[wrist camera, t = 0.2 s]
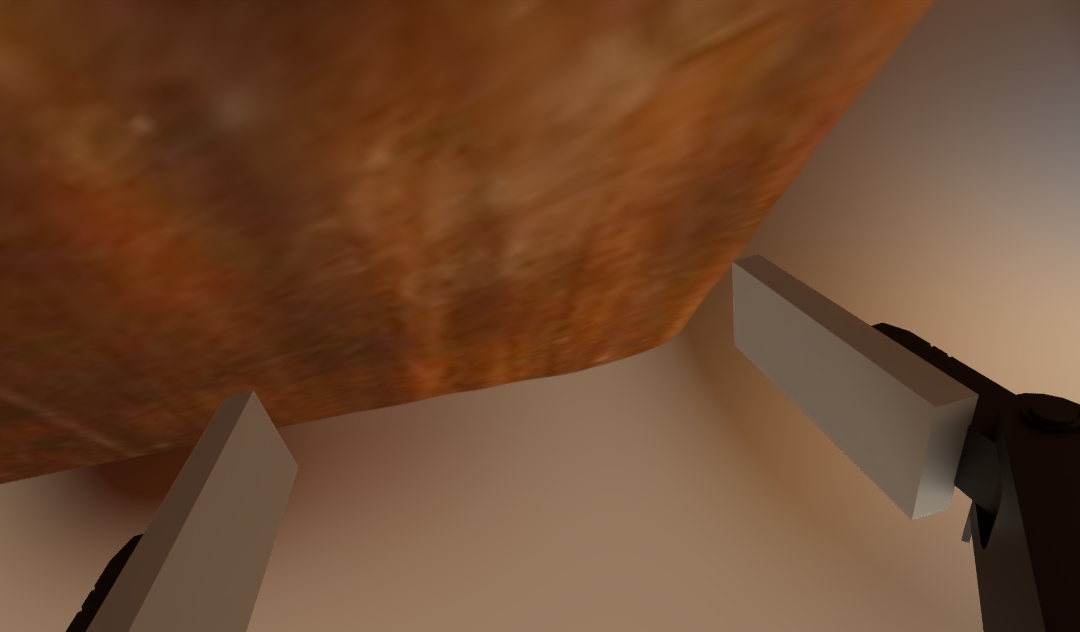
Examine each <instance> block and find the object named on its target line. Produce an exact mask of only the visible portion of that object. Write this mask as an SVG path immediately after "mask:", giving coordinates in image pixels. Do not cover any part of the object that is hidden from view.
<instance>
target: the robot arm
mask: <svg viewBox="0 0 1080 632" xmlns="http://www.w3.org/2000/svg"><path fill="white" fill-rule="evenodd" d="M732 272H733V311H734V345H735V346H736V347H737V348H738V349H739V350H740V351H741V352H742V353H743V354H744V355H745V356H746V357H747V358H748V359H749V360H750V361H751V362H753V364H755V366H756V367H757V368H758V369H759V370H760V371H761V372H762V373H764V374H765V375H766V376H767V377H768V378H769V379H770V380H771V381H772V382H773V383H774V384H775V385H776V386H777V387H778V388H779V389H780V390H781V391H782V392H783V393H784V394H785V395H786V396H787V397H788V398H789V399H790V400H791V401H792V402H793V403H794V404H795V405H796V406H797V407H798V408H799V409H800V410H801V411H802V412H803V413H804V414H805V415H806V416H807V417H808V418H809V419H810V420H811V421H812V422H813V423H814V424H815V425H816V426H817V427H818V428H819V429H820V430H821V431H822V432H823V433H824V434H825V435H826V436H827V437H828V438H829V439H830V440H831V441H832V442H833V443H834V444H835V445H836V446H837V447H838V448H840V450H841V451H842V452H844V454H845V455H846V456H847V457H848V458H850V460H851V461H853V463H855V464H856V465H857V466H858V467H859V468H860V469H861V470H862V471H863V472H864V473H865V474H866V475H867V476H868V477H869V478H870V479H871V480H872V481H873V482H874V483H875V484H876V485H877V486H878V487H879V488H880V489H881V490H882V491H883V492H884V493H885V494H886V495H887V496H888V497H889V498H890V499H891V500H892V501H893V502H894V503H895V504H896V505H897V506H898V507H899V508H900V509H901V510H902V511H903V512H904V513H905V514H906V515H907V516H908V517H909V518H910V519H911V520H914V519H917V518H921V517H924V516H927V515H930V514H934V513H937V512H940V511H943V510H946V509H949V507H950V503H951V499H952V495H953V491H954V487H955V486H956V487H958V488H959V489H960V490H961V491H962V492H963V493H965V494H966V495H967V496H968V497H969V498H971V499H972V500H973V501H972V504H971V508H970V511H969V514H968V518H967V522H966V525H965V528H964V532H963V536H962V541H965V542H969V541H970V538H971V534H972V539H973V547H974V556H975V564H976V572H977V580H978V589H979V597H980V605H981V613H982V621H983V630H984V632H1080V404H1077V403H1075V402H1072V401H1070V400H1067V399H1064V398H1060V397H1055V396H1051V395H1046V394H1034V393H1023V394H1018V395H1015V394H1013V393H1012V392H1010V391H1009V390H1007V389H1005V388H1003V387H1002V386H1000V385H999V384H997V383H995V382H993V381H992V380H990V379H988V378H987V377H985V376H983V375H982V374H980V373H978V372H977V371H975V370H973V369H972V368H970V367H968V366H967V365H965V364H963V363H962V362H960V361H958V360H957V359H955V358H953V357H948V355H947V353H945V352H943V351H942V350H940V349H938V348H937V347H935V346H933V347H931V345H930V343H928V342H927V341H925V340H923V339H921V338H920V337H918V336H917V335H915V334H913V333H911V332H910V331H907V330H904V329H901V328H898V327H895V326H892V325H889V324H885V323H880V324H876V325H873V326H870V325H869V324H867V323H865V322H864V321H862V320H861V319H859V318H858V317H856V316H854V315H853V314H851V313H850V312H848V311H847V310H845V309H843V308H842V307H840V306H839V305H837V304H836V303H834V302H833V301H831V300H829V299H828V298H826V297H825V296H823V295H822V294H820V293H818V292H817V291H815V290H814V289H812V288H810V287H809V286H807V285H806V284H804V283H803V282H801V281H800V280H798V279H796V278H795V277H793V276H792V275H790V274H789V273H787V272H786V271H784V270H782V269H781V268H779V267H778V266H776V265H775V264H773V263H771V262H770V261H768V260H767V259H765V258H764V257H762V256H760V255H759V254H758V255H754V256H750V257H746V258H742V259H739V260H735V261H732ZM297 470H298V465H297V464H296V462H295V460H294V459H293V457H292V455H291V453H290V452H289V450H288V448H287V447H286V445H285V443H284V442H283V440H282V438H281V437H280V435H279V433H278V431H277V430H276V428H275V426H274V425H273V423H272V421H271V419H270V418H269V416H268V414H267V413H266V411H265V409H264V407H263V406H262V404H261V402H260V401H259V399H258V397H257V396H256V394H255V392H254V390H253V391H249V392H246V393H242V394H238V395H235V396H231V397H227V398H224V399H223V400H222V402H221V404H220V406H219V407H218V409H217V411H216V412H215V414H214V416H213V417H212V419H211V421H210V422H209V424H208V426H207V428H206V429H205V431H204V433H203V434H202V436H201V438H200V439H199V441H198V443H197V444H196V446H195V448H194V450H193V451H192V453H191V455H190V456H189V458H188V460H187V461H186V463H185V465H184V467H183V468H182V470H181V472H180V473H179V475H178V477H177V478H176V480H175V482H174V484H173V485H172V487H171V488H170V490H169V492H168V494H167V495H166V497H165V499H164V500H163V502H162V504H161V505H160V507H159V509H158V510H157V512H156V514H155V516H154V517H153V519H152V521H151V522H150V524H149V526H148V527H147V529H146V531H145V533H144V534H141V535H137V536H134V537H133V538H132V539H131V540H130V541H129V542H128V543H127V544H126V545H125V546H124V547H123V548H122V549H121V550H120V551H119V552H118V553H117V554H116V555H115V556H114V557H113V558H112V559H111V560H110V562H109V563H108V565H107V566H106V568H105V570H104V571H103V573H102V574H101V576H100V578H99V579H98V581H97V583H96V584H95V590H93V591H91V592H90V594H89V595H88V597H87V599H86V600H85V602H84V603H83V605H82V611H81V612H78V613H77V615H76V616H75V618H74V619H73V621H72V623H71V624H70V626H69V627H68V629H67V630H66V632H246V630H247V627H248V624H249V621H250V618H251V614H252V611H253V608H254V605H255V602H256V599H257V596H258V593H259V590H260V586H261V583H262V580H263V577H264V574H265V571H266V567H267V564H268V561H269V558H270V555H271V552H272V548H273V545H274V542H275V539H276V536H277V533H278V530H279V526H280V523H281V520H282V517H283V514H284V511H285V508H286V505H287V501H288V498H289V495H290V492H291V489H292V486H293V483H294V479H295V476H296V473H297Z"/></svg>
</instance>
